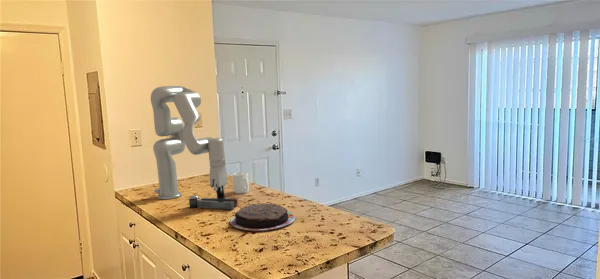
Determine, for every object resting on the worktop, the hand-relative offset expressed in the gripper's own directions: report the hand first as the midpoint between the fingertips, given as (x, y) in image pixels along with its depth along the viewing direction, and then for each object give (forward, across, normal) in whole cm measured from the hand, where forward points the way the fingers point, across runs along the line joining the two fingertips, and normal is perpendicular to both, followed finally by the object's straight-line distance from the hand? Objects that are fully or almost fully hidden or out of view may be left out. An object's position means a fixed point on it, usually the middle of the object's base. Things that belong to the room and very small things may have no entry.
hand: (221, 199), depth 202 cm
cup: (+3, -22, +2) cm, 23 cm away
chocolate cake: (+4, +20, +30) cm, 36 cm away
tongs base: (+2, +6, -2) cm, 7 cm away
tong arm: (+2, +4, -2) cm, 5 cm away
